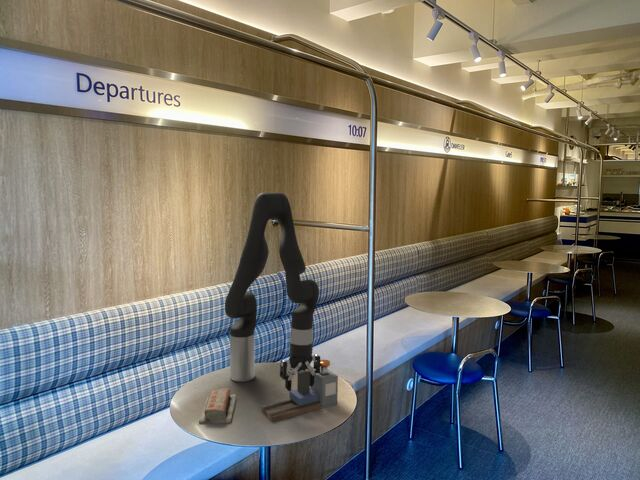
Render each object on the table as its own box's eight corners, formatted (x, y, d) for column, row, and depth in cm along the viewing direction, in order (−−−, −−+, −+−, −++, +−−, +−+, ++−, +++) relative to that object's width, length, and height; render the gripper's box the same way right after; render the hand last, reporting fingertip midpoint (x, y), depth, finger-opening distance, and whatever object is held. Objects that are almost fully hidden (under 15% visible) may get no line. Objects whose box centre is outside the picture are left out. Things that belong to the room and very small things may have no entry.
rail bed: (261, 411, 155) (261, 404, 155) (309, 399, 165) (309, 392, 164) (271, 421, 149) (271, 414, 148) (320, 408, 158) (321, 401, 158)
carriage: (289, 397, 160) (289, 370, 159) (307, 393, 163) (307, 366, 162) (299, 405, 154) (299, 378, 153) (317, 401, 157) (318, 373, 156)
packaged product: (231, 409, 147) (198, 410, 146) (231, 424, 148) (198, 425, 147) (236, 385, 165) (207, 386, 164) (236, 398, 165) (207, 399, 165)
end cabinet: (310, 398, 165) (310, 371, 164) (324, 395, 168) (325, 367, 167) (322, 408, 158) (323, 379, 157) (337, 404, 161) (338, 376, 160)
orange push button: (315, 377, 163) (316, 360, 162) (325, 375, 165) (326, 358, 164) (321, 381, 159) (322, 364, 159) (332, 379, 161) (332, 362, 161)
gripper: (314, 334, 163) (312, 380, 165) (276, 339, 155) (275, 387, 157) (325, 340, 156) (323, 388, 158) (287, 346, 149) (285, 396, 151)
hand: (299, 387), depth 158 cm, fingers open, 7 cm apart
